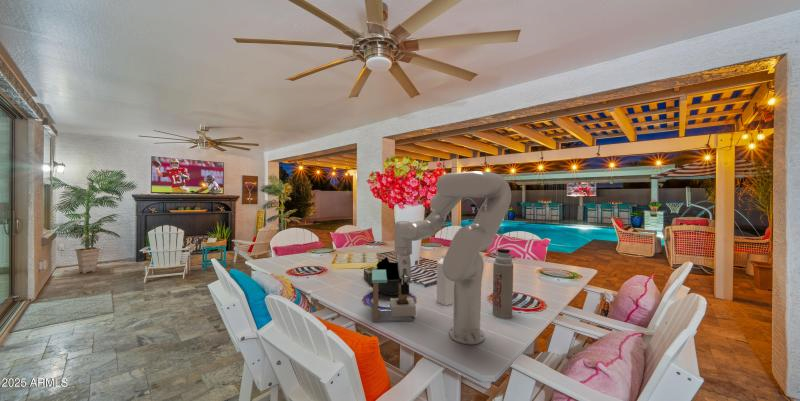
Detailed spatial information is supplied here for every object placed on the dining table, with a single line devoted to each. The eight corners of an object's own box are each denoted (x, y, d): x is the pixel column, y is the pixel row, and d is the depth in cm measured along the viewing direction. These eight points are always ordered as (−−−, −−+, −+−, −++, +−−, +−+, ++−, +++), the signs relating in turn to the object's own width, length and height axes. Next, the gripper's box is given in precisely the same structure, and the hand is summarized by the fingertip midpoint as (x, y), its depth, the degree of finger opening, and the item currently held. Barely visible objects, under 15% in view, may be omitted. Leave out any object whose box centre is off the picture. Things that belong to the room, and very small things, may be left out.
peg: (407, 313, 124) (407, 284, 124) (398, 313, 124) (398, 284, 123) (406, 309, 128) (406, 282, 127) (397, 309, 127) (398, 282, 127)
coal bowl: (363, 296, 145) (364, 259, 144) (383, 285, 163) (383, 251, 162) (400, 304, 136) (400, 263, 135) (416, 290, 154) (417, 255, 153)
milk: (445, 306, 134) (446, 258, 133) (436, 301, 139) (436, 255, 138) (454, 302, 138) (455, 256, 137) (445, 299, 143) (446, 254, 142)
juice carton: (362, 277, 177) (362, 267, 177) (377, 276, 181) (378, 266, 180) (371, 288, 158) (371, 277, 158) (388, 286, 162) (389, 275, 162)
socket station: (416, 321, 118) (416, 279, 117) (371, 322, 117) (371, 280, 116) (411, 305, 134) (412, 268, 133) (372, 306, 133) (372, 269, 132)
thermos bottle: (501, 319, 120) (502, 252, 119) (488, 312, 127) (489, 248, 126) (516, 317, 123) (517, 250, 122) (503, 309, 130) (504, 247, 129)
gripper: (414, 254, 116) (415, 296, 116) (409, 246, 133) (410, 284, 134) (395, 254, 116) (396, 297, 116) (393, 247, 133) (394, 284, 133)
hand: (404, 290), depth 125 cm, fingers open, 9 cm apart
